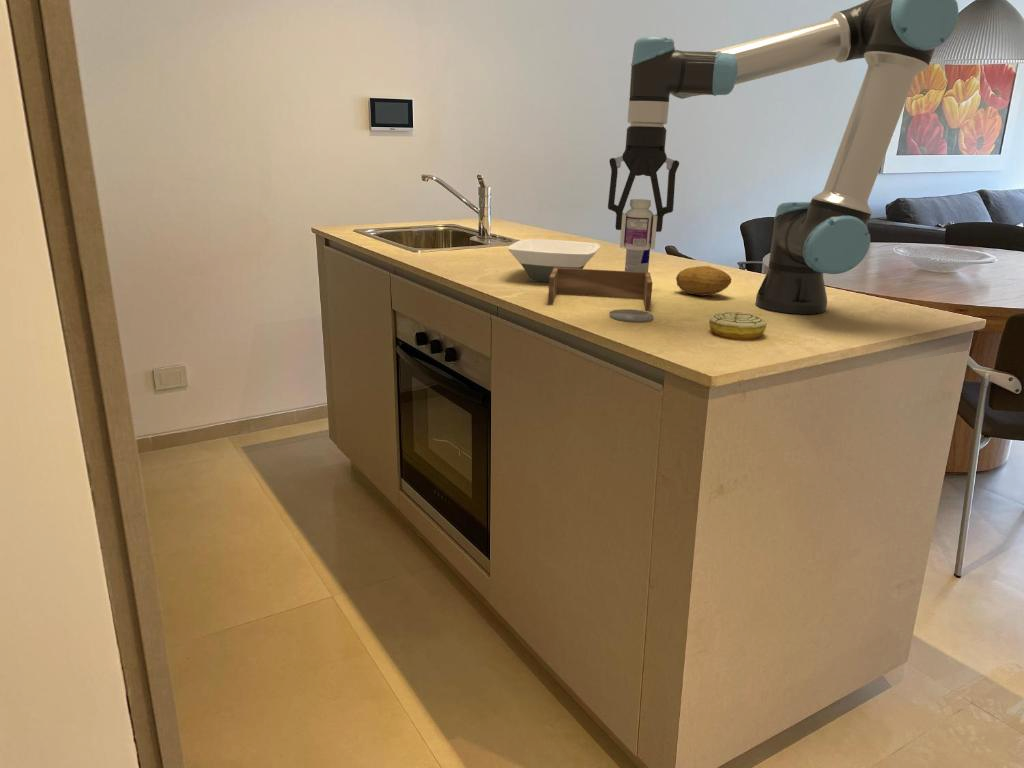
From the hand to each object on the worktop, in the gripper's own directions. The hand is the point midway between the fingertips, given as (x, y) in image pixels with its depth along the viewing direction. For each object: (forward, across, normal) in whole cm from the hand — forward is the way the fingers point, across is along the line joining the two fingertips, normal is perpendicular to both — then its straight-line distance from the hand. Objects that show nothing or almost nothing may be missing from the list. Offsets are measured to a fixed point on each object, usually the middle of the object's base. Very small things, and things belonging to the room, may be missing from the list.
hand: (636, 247), depth 155 cm
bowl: (+15, +19, -40) cm, 46 cm away
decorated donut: (+15, -20, +9) cm, 26 cm away
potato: (+15, -17, -28) cm, 36 cm away
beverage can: (+15, -2, -31) cm, 35 cm away
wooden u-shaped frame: (+14, +7, -14) cm, 21 cm away
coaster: (+14, 0, 0) cm, 14 cm away
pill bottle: (0, 0, 0) cm, 0 cm away
